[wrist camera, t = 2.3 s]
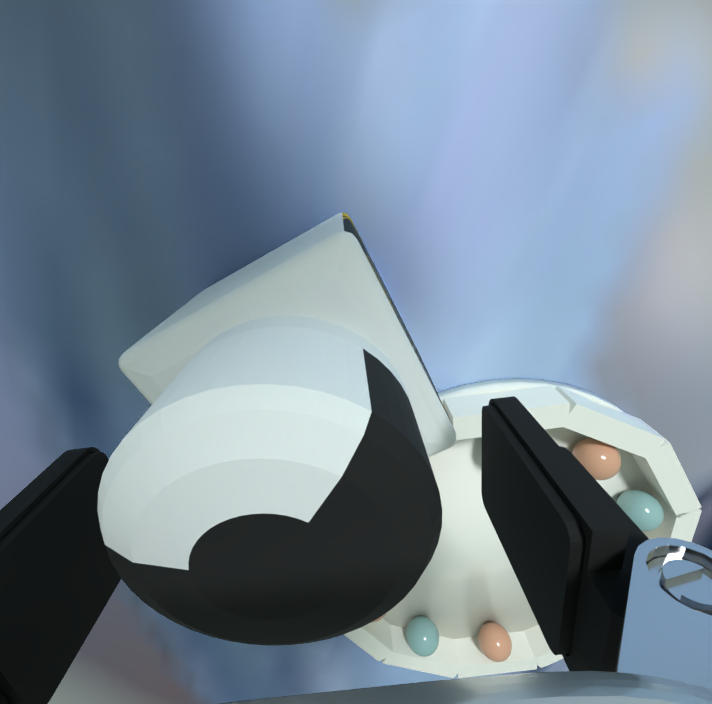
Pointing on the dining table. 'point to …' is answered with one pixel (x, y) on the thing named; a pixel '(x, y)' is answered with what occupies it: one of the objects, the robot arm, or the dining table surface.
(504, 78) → the dining table surface
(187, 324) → the medicine bottle
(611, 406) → the tray
